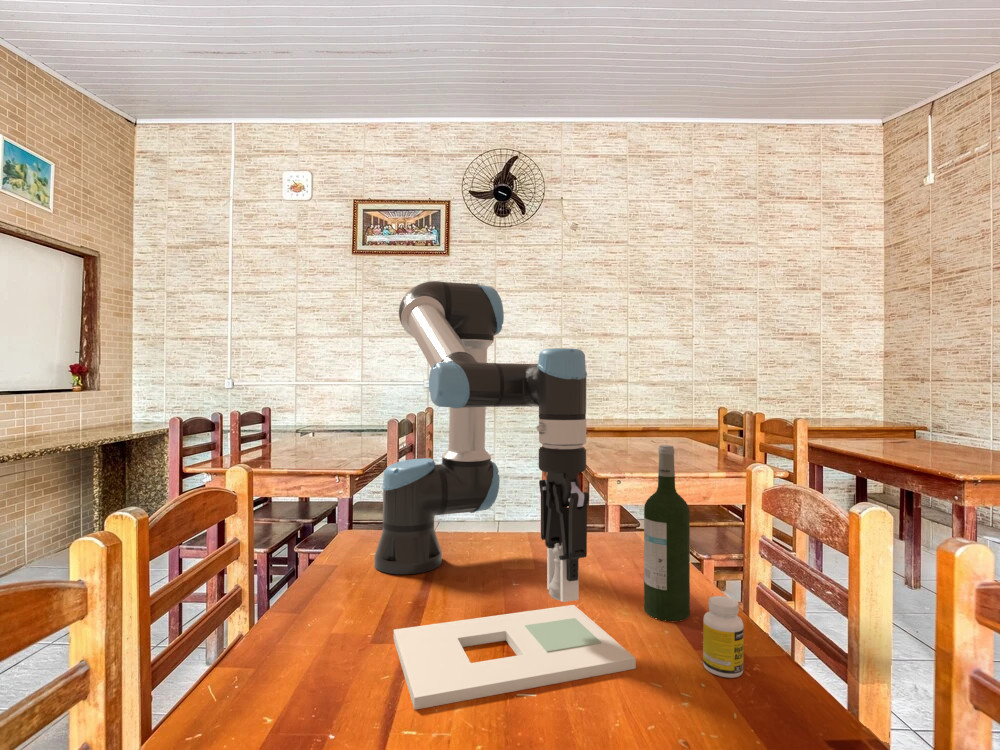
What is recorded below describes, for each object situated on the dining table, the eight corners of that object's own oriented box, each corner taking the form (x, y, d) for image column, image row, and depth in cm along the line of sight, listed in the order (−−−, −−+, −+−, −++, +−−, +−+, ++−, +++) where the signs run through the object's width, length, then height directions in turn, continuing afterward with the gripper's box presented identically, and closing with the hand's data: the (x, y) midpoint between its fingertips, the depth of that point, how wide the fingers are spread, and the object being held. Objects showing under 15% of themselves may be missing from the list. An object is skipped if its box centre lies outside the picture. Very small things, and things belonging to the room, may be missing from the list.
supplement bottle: (740, 683, 75) (740, 611, 75) (699, 672, 77) (699, 603, 78) (746, 666, 79) (746, 598, 79) (707, 656, 82) (707, 591, 82)
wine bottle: (697, 612, 98) (696, 445, 98) (678, 626, 92) (677, 449, 93) (656, 600, 103) (656, 442, 104) (635, 613, 97) (635, 445, 98)
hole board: (393, 639, 87) (393, 628, 87) (573, 613, 97) (573, 603, 97) (414, 709, 68) (414, 696, 68) (635, 668, 78) (635, 656, 78)
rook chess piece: (579, 592, 87) (579, 542, 87) (573, 603, 83) (573, 550, 83) (552, 589, 88) (552, 539, 89) (545, 599, 84) (545, 547, 84)
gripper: (520, 441, 93) (520, 578, 93) (564, 453, 77) (564, 619, 76) (560, 440, 96) (560, 573, 95) (611, 451, 79) (611, 612, 78)
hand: (562, 593), depth 86 cm, fingers closed on rook chess piece, 4 cm apart
